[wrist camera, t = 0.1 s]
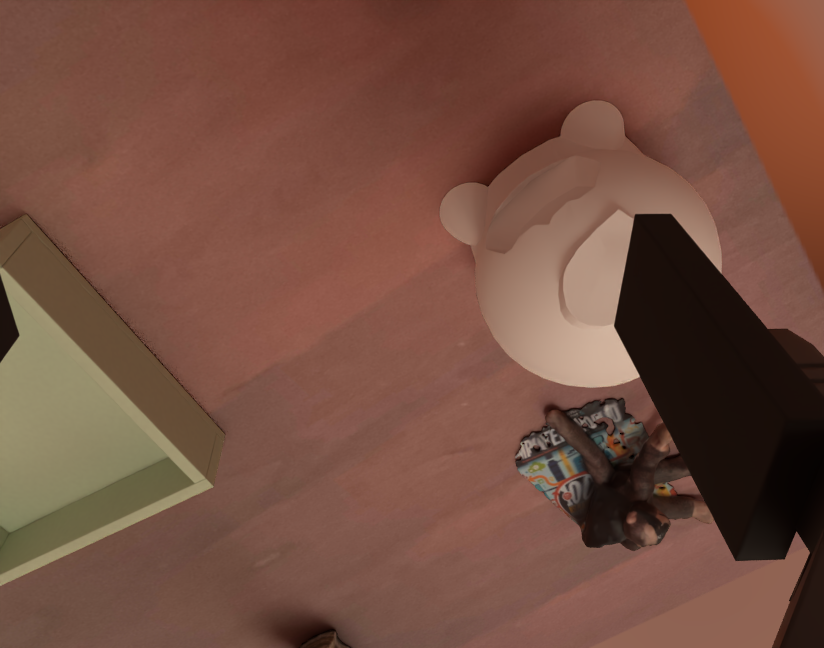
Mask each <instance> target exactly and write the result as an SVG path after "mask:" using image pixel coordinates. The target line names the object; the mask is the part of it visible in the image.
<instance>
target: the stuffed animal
mask: <svg viewBox="0 0 824 648" xmlns="http://www.w3.org/2000/svg"><path fill="white" fill-rule="evenodd" d="M600 403H601V401H600V402H599V401H595V402H593V403H592V404H590V403H588V404H587V405H586V406H585V407H583V409H581V410H577V409H571V410H569V411H567V412H560V411H559V410H551V411H549V412H548V413H547V415H546V417H545V419H546V422H547V423H546V425H548V427H547V428H544V427H543V429H542V431H541V432H538V433H534V432H533V433H531V435H530V436H529V437H528V438H527V437H525V438H524V439H523V440H522V442H521V445H522V443H523V442H524V443H525V444H524V445H522V447H521V449H520V451H519V453H518V454H517V455H516V457H515V458H517V457H519V456H521V457H522V459H521V460H517V461H516V466H517V467H518V471H519V472H521V474H522V476H523V477H525V478H526V479H528V480H529V481H530V482H531V483H532V484H533V485H535V487H536V488H537V489H538V490H539V491H543V492H544V494H545V496H546V497H547V498H548V499H549V500H550V501H551V502H553V503H554V504H555V505H556V506H557V507H558V508H559V509H561V510H562V511H563V512H564V513H565V514H566V515H567V516H568V517H569V518H571V519H572V520H573V521H574V522H575V523H577V524H578V525H579V526H580V528H581V532H582V540H583V542H584V543H585V545H586V546H587V547H590V548H592V547H594V548H600V547H603V546H604V545H612V544H616V543H621V544H622V545H623V546H624V547H626V548H627V549H630V550H632V551H636V550H638V549H640V548H641V547H645V546H646V545H649V546H651V545H658V544H659V543H660V542H661V541H662V539H663V538H664V536H665V534H666V532H667V531H668V529H669V527H670V525H671V523H670V521H669V519H674V520H676V519H680V518H682V519H687V518H690V517H694V518H696V519H697V520H699V521H701V522H704V523H708V524H711V523H712V522H713V521H714V518H713V516H712V514H711V512H710V511H709V509H708V507H707V505H706V503H705V502H704V501H700V500H695V499H693V498H691V497H683V496H677V492H675V490H674V488H673V487H671V486H670V485H669V484H667V483H668V482H670V481H674V480H677V479H680V478H683V477H686V476H691V474H690V472H689V470H688V468H687V466H686V464H685V462H684V460H683V459H682V457H681V455H680V456H678V457H676V458H671V459H664V458H665V457H666V456H667V455H668V454H669V453H670V448H669V442H670V441H671V440H672V437H671V435H670V433H669V432H668V430H667V428H666V426H665V424H664V423H660V424H659V425H657V427H656V428H655V430H654V432H653V433H652V435H651V436H650V437H649V436H648V434H647V432H646V431H645V428H644V427H643V424H642V422H641V423H639V424H634V422H635V418H633V416H631V415H628V414H625V409H626V408H625V407H624V406H625V401H624V399H621V400H620V401H617V400H615V399H611V400H605V404H604V405H601V406H600ZM596 414H598V415H597V416H595V415H596ZM580 416H583V417H584V419H583V420H580V419H579V418H578V417H580ZM603 417H607V418H611V419H612V420H613V424H614V426H615V428H616V429H615V430H614V433H613V434H612V435H611V436H610V435H608V434H607V432H606V428H607V427H608V425H607V424H605V423H602V424H601V425H597V424H594V423H593V422H594V421H596V420H598V419H600V418H603ZM584 423H587V424H588V426H589V427H588V428H582V427H581V426H582V424H584ZM550 428H551V430H550ZM621 432H624V433H623V434H620V433H621ZM542 433H543V434H545V436H548V438H545V436H543V435H542ZM614 439H619V441H620V442H621V444H620V443H617V444H613V443H614V442H613V440H614ZM547 442H550V443H551V444H552V445H551V446H548V445H547ZM603 442H604V443H603ZM534 445H538V446H540V450H539V451H537V450H535V449H534V448H533V446H534ZM607 446H609V447H610V448H607ZM622 446H626V449H624V448H622ZM574 449H575V450H574ZM632 454H634V457H633V458H630V455H632ZM661 486H663V487H665V488H663V489H661V488H659V487H661Z"/></svg>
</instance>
